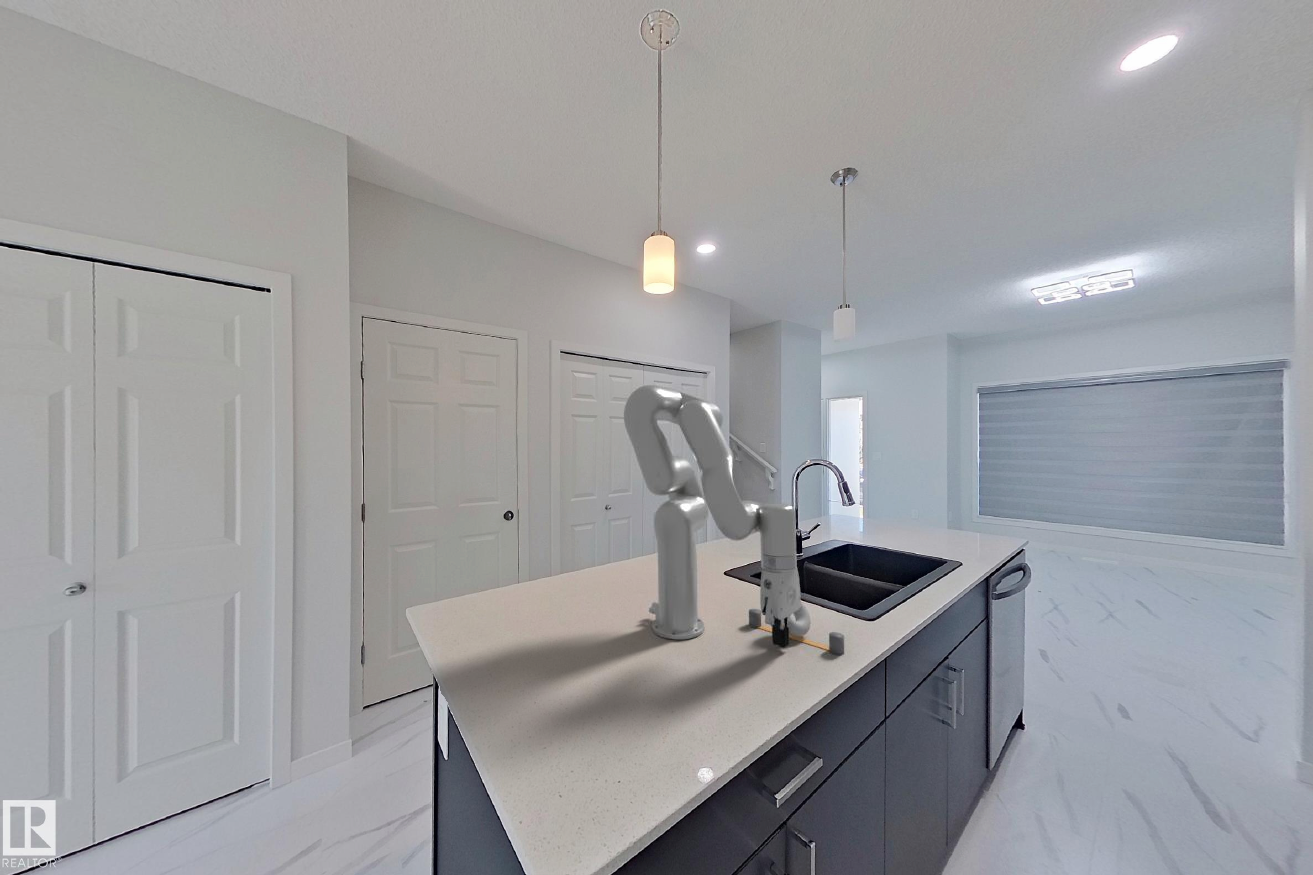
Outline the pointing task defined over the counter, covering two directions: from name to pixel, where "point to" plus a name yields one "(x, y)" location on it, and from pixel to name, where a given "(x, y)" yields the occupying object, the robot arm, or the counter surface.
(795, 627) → the donut
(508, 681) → the counter surface
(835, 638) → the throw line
